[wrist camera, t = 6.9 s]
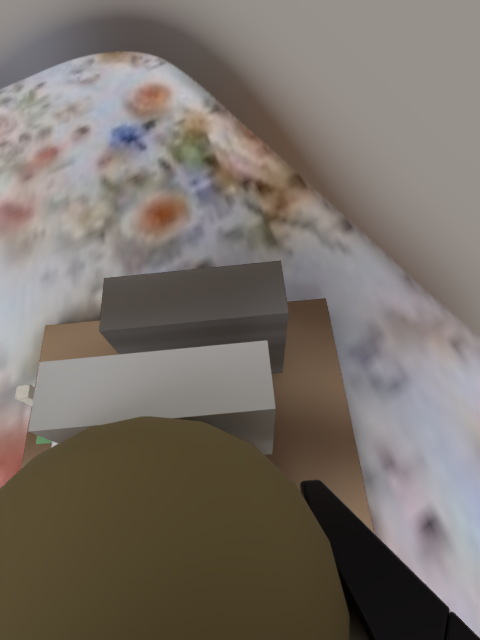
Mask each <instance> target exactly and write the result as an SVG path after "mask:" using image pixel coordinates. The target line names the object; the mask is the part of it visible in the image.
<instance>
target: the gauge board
mask: <svg viewBox="0 0 480 640" xmlns="http://www.w3.org/2000/svg"><path fill="white" fill-rule="evenodd" d="M266 340H267V341H268V349H269V358H270V366H271V374H272V383H273V391H274V399H275V408H276V411H275V424H274V437H273V451H272V454H267V455H265V456H266V457H267V458H268V459H269V460H270V461H271V462H273V463H274V464H275V465H276V466H277V467H278V468H279V469H280V470H281V471H282V472H283V473H284V474H286V475H287V476H288V477H289V478H290V479H291V480H292V481H293V482H294V483H295V484H296V485H297V487H298V489H299V490H300V483H301V482H302V481H305V480H316V479H317V480H321V481H322V482H323V483H324V484H325V485H326V486H327V487H328V488H329V489H330V490H331V491H332V492H333V493H334V494H335V495H336V496H337V497H338V498H339V499H340V500H341V501H342V502H343V503H344V504H345V505H346V506H347V507H348V508H349V509H350V510H351V511H352V512H353V513H354V514H355V515H356V516H357V517H358V518H359V519H360V520H361V521H362V522H363V523H364V524H365V525H366V526H367V527H368V528H369V529H370V530H371V531H372V532H373V533H374V530H373V525H372V520H371V516H370V511H369V506H368V501H367V496H366V491H365V487H364V482H363V477H362V472H361V467H360V462H359V457H358V453H357V448H356V443H355V438H354V433H353V428H352V424H351V419H350V414H349V409H348V404H347V399H346V395H345V390H344V385H343V380H342V375H341V370H340V365H339V361H338V356H337V351H336V346H335V341H334V336H333V332H332V327H331V322H330V317H329V312H328V307H327V302H326V298H324V299H314V300H304V301H293V302H287V299H286V292H285V286H284V279H283V272H282V266H281V261H273V262H263V263H253V264H243V265H232V266H222V267H212V268H202V269H192V270H182V271H172V272H162V273H152V274H142V275H132V276H121V277H111V278H104V284H103V294H102V304H101V315H100V320H98V321H88V322H77V323H67V324H57V325H46V326H45V331H44V337H43V343H42V349H41V355H40V361H39V363H40V362H46V361H57V360H67V359H77V358H88V357H98V356H109V355H119V354H130V353H140V352H151V351H161V350H172V349H182V348H193V347H203V346H214V345H224V344H234V343H245V342H255V341H266ZM38 368H39V367H38ZM37 374H38V372H37ZM36 380H37V378H36ZM35 386H36V384H35ZM31 410H32V408H31ZM30 416H31V414H30ZM29 422H30V420H29ZM28 428H29V426H28ZM51 446H52V441H50V440H48V439H45V438H43V437H40V436H38V435H35V434H33V433H30V432H27V438H26V444H25V449H24V455H23V461H22V467H21V469H22V468H23V467H24V466H25V465H26V464H27V463H28V462H29V461H30V460H31V459H33V458H34V457H35V456H37V455H39V454H40V453H42V452H44V451H46V450H48V449H50V448H51Z"/></svg>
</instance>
